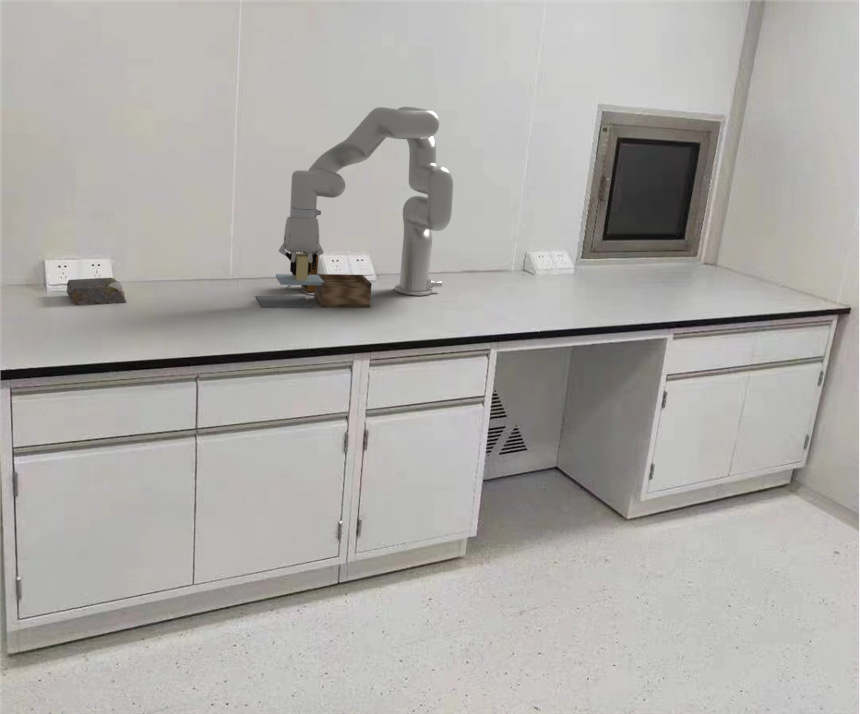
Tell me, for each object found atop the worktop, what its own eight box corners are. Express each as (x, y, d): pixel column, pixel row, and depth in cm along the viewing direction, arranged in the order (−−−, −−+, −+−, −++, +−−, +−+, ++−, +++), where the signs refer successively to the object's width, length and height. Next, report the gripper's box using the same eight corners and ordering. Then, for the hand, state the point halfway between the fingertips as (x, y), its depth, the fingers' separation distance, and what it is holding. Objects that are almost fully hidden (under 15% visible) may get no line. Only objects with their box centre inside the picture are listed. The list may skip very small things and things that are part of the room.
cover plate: (318, 278, 266) (319, 252, 263) (324, 285, 258) (325, 259, 255) (275, 277, 261) (276, 251, 259) (280, 284, 253) (282, 258, 251)
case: (360, 298, 273) (362, 274, 271) (369, 307, 263) (371, 283, 261) (314, 297, 268) (315, 273, 266) (321, 307, 258) (323, 282, 256)
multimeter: (275, 285, 279) (278, 223, 273) (305, 284, 284) (308, 224, 278) (290, 296, 267) (293, 232, 261) (321, 295, 272) (324, 232, 266)
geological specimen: (63, 279, 243) (118, 274, 250) (65, 300, 245) (119, 295, 252) (69, 287, 234) (126, 282, 242) (72, 309, 236) (128, 303, 244)
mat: (304, 297, 268) (304, 296, 268) (312, 307, 257) (312, 306, 257) (255, 296, 263) (255, 295, 263) (261, 307, 252) (261, 306, 252)
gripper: (327, 212, 259) (324, 272, 265) (273, 210, 254) (270, 271, 259) (333, 217, 253) (329, 278, 258) (277, 214, 247) (274, 277, 253)
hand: (300, 274), depth 259 cm, fingers closed on cover plate, 3 cm apart
